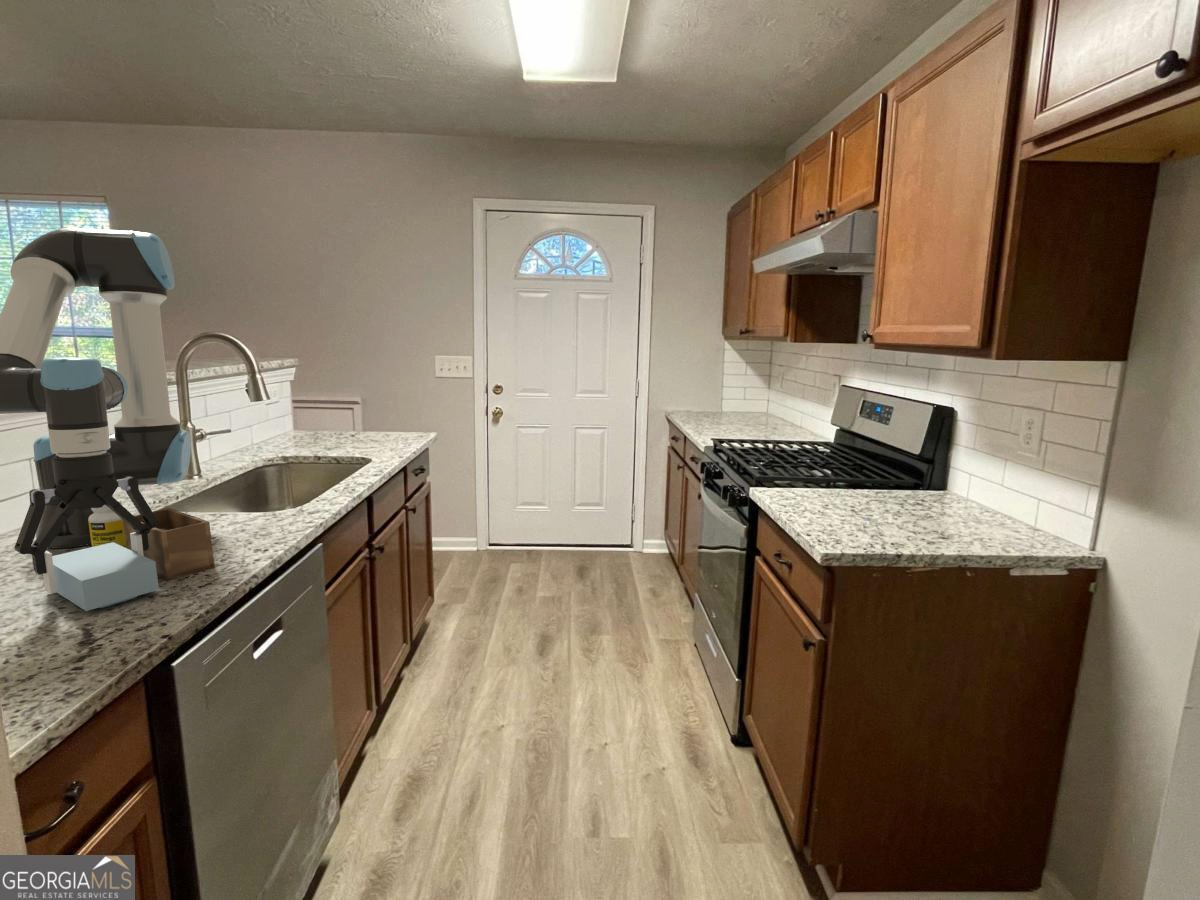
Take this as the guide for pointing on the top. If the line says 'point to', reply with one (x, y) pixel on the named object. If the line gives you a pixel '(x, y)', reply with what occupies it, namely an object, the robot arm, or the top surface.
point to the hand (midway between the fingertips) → (97, 579)
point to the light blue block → (103, 575)
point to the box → (177, 544)
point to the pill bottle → (106, 527)
